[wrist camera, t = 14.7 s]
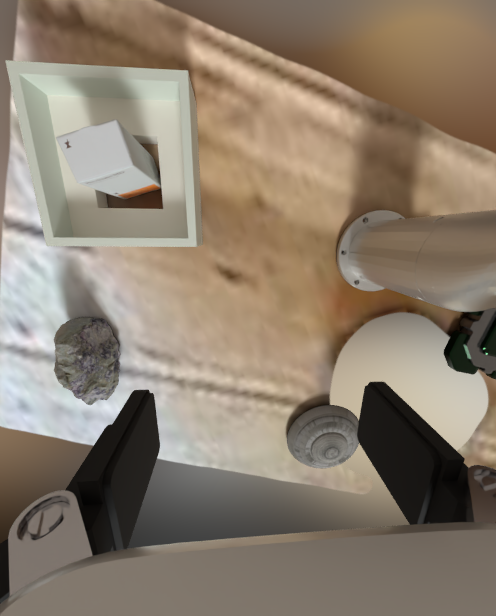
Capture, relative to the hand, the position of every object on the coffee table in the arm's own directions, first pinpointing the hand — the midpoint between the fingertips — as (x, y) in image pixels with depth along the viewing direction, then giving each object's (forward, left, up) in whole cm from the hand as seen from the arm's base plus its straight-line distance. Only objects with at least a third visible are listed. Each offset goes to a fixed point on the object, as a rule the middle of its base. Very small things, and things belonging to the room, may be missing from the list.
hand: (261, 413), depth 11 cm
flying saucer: (-17, +31, -31) cm, 47 cm away
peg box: (+14, -15, -30) cm, 37 cm away
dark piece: (-48, +9, -31) cm, 58 cm away
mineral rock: (+24, +12, -31) cm, 41 cm away
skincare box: (+14, -15, -31) cm, 37 cm away
